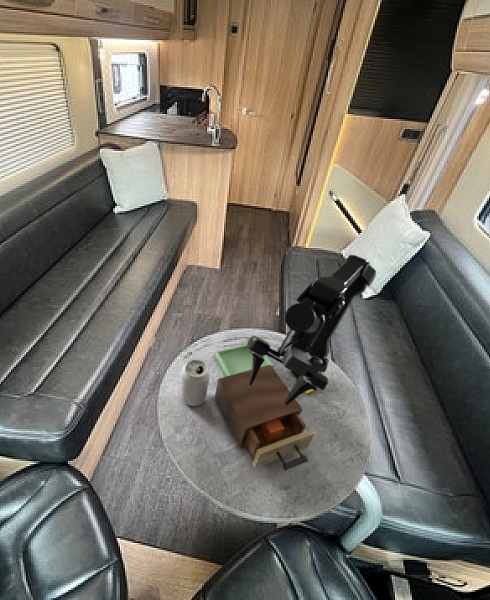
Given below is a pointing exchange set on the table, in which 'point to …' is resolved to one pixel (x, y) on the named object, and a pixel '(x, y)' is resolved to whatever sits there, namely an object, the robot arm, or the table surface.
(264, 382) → the cabinet
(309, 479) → the table surface
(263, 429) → the cube
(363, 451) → the table surface
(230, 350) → the tray
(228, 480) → the table surface
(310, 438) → the drawer
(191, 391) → the can
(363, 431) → the table surface
